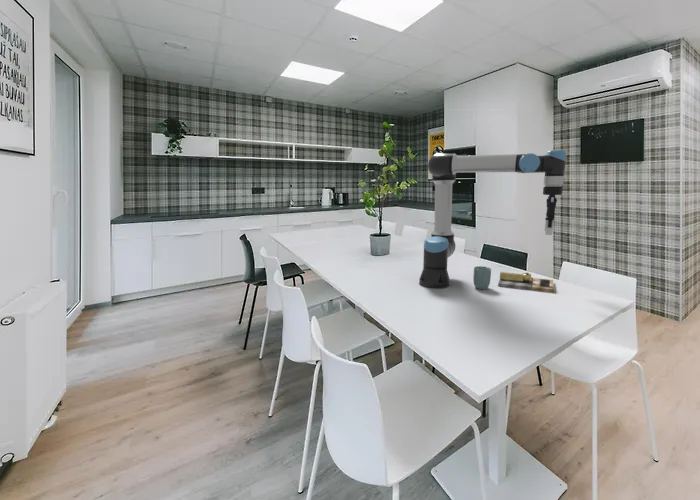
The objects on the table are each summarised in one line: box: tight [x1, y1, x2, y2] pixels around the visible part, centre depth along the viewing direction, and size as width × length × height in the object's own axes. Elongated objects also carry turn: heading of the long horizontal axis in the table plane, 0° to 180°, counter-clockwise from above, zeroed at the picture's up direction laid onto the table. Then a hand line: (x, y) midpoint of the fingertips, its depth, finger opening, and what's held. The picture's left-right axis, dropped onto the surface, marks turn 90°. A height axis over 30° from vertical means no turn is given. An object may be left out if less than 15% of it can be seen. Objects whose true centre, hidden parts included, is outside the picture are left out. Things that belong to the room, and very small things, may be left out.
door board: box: [497, 276, 556, 294], centre depth 173 cm, size 24×18×5 cm
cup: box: [473, 265, 492, 290], centre depth 168 cm, size 8×8×10 cm
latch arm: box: [499, 271, 532, 282], centre depth 174 cm, size 14×4×4 cm, turn 62°
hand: (548, 232), depth 160 cm, fingers open, 13 cm apart
